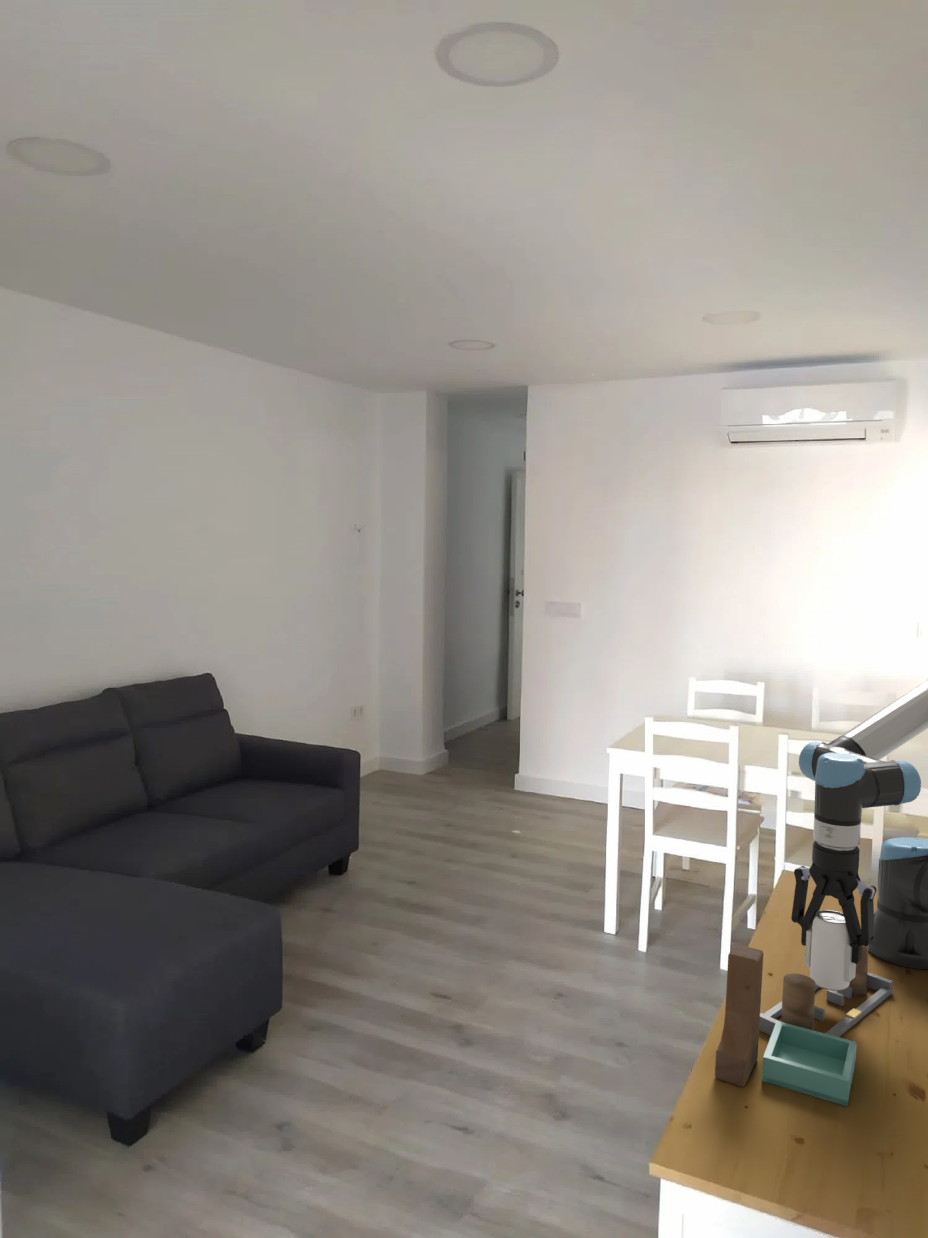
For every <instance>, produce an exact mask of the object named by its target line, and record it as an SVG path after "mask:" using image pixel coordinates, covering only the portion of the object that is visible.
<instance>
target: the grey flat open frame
mask: <svg viewBox="0 0 928 1238" xmlns="http://www.w3.org/2000/svg"><path fill="white" fill-rule="evenodd" d="M893 982H894V980H891V979H889V978H886V977H884V976H880V975H878V974H875V973H872V972H871V971H870V972H869V971H868V973H867V989H871V990H873V991H876V992H875V993H874V994H872V995H871V996H870V997H868V998H867V999H866V1000H865V1001H864V1002H862V1003H861V1004H860V1005H858V1006H857V1007H855V1008H854V1007H853V1008H852V1009H850V1010H849V1011H848V1012H847V1013H846V1014H845V1017H843V1018H842V1019H841V1020H840V1021H839V1022H837V1023H836V1024H834V1025H833V1026H832V1027H831V1028H830V1029H829V1030H827V1031H826V1032H824V1033H825V1034H829V1035H832V1036H836V1037H840V1038H841V1036H842V1035H844V1034H845V1033H846V1032H847V1031H848V1030H850V1029H851V1028H852V1027H853V1026H855V1025H856V1024H857V1023H858V1022H859V1021H860V1020H862V1019H863V1018H864V1017H865V1016H866V1015H868V1014H869V1013H870V1012H872V1011H873V1010H874V1009H875V1008H876V1007H878V1005H879V1006H880V1004H881V1003H882V1002H883V1001H885V1000H886V999H888V998H889V997H890V996H891V995H892V994H893V986H894V983H893ZM820 988H821V987H819V986H817V985H815V992H816V991H817V990H818V989H820ZM852 997H853V996H852V987H849V986H848V987H847V988H846V989H844V990H840V991H833V990H827V989H826V997H825V998H826V1001H827V1002H831V1003H832V1004H835V1005H837V1006H840V1007H843V1006H844V1005H845V998H847V999H849V1000H850V999H852ZM825 1012H826V1009H823V1008H822V1007H820V1006H816V1005H814V1017H813V1023H814V1020H818V1021H820V1022H824V1021H825V1017H826V1013H825ZM781 1013H782V1000H781V1001H780V1002H778V1003H776V1004H775V1005H774V1006H773V1007H771V1008H769V1009H768V1010H766V1012H764V1013H763V1012H760V1023H759V1032H763V1033H764V1034H767V1035H769V1036H771V1035H772V1032H773V1030H774V1027H775V1024H776V1021H780V1022H781V1020H778V1018H779V1017H781Z"/></svg>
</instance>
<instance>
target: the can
mask: <svg viewBox="0 0 928 1238" xmlns="http://www.w3.org/2000/svg"><path fill="white" fill-rule="evenodd" d="M850 942H851V941H850V937H849V934H848V930H847V926H846V922H845V919H844V915H843V912H841V911H837V910H833V909H832V910H831V909H821V910H819V911H817V912H816V917H815V918H814V920H813V925H812V942H811V961H810V967H809V977H810V978H811V979H813V980H814V981H815V983H816V985H817V986H819V987H820V988H821V989H823V990H826V991H827V990H833V991H835V992H837V991H840V990H844V989H846V988H847V987H848V986H849V984H850V982H846V981H844V976H845V956H846V944H847V943H850Z"/></svg>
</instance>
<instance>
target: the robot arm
mask: <svg viewBox="0 0 928 1238" xmlns="http://www.w3.org/2000/svg"><path fill="white" fill-rule="evenodd" d="M926 730H928V679H927V680H925V681H924V682H922V683H920V684H919V685H918V686H916V687H915V688H913V689H911V690H910V691H908V692H907V693H905V694H904V695H902V696H900V697H899V698H897V699H896V700H895V701H893V702H891V703H890V704H888V705H887V706H884V707H883V708H882V709H880V710H878V711H877V712H876V713H874V714H872V715H871V716H869V717H867V718H866V719H865V720H863V721H862V722H860V723H858V724H857V725H855V726H853V727H852V728H851V729H849V730H847V731H846V732H844V733H843V734H841V735H840V736H838V737H837V738H835V739H833V740H831V741H830V742H829V743H826V742H824V741H812V742H809V743H808V744H806V745H805V746H804V747H803V748H802V750H801V751H800V754H799V755H798V765H799V766H798V767H799V770H800V771H801V773H802V774H803V776H805V778H808V779H809V780H812V781H814V810H813V811H814V812H813V813H814V817H813V830H812V831H813V835H812V838H813V840H814V841H813V842H812V851H811V853H812V854H811V862H812V863H811V866H810V867H806V866H805V865H801V866H799V867H797V868H795V869H794V871H793V875H794V878H795V886H794V887H795V889H794V894H793V895H794V896H793V903H792V908H791V909H792V910H791V917H790V919H791V921H792V923H797V924H798V925H799V926H800V927H801V934H800V935H801V939H800V943H801V946H803V947H805V953H804V967H806V968H808V969H810V961H811V942H812V925H813V920H814V918H815V917H816V912H817V911H820V909H821V908H822V905H823V903H824V900H825V898H826V896H827V897H832V898H834V899H835V900H837V901H838V905H839V906H840V907H841V911H842V913H843V915H844V919H845V922H846V926H847V930H848V934H849V937H850V941H851V942H850V943H847V944H846V956H845V976H844V981H846V982H850V981H851V980H852V979H853V978H855V973H856V964H858V963H859V962H860V961H861V959H862V945H864V946H868V945H869V950H868V952H870V954H872V955H874V956H875V957H877V958H878V959H881V960H882V961H885V962H889V963H891V964H893V965H897V966H901V967H906V968H910V969H920V970H928V838H922V837H893V838H892V837H891V838H889V839H886V840H885V841H884V842H883V843H882V844H881V847H880V854H879V857H878V872H877V873H878V876H877V886H875V885H867V884H866V883H864V882H862V881H861V878H860V876H859V867H860V848H859V847H858V846H860V845H861V829H862V828H861V827H862V826H861V823H862V817H863V816H862V815H863V809H870V808H876V807H887V806H900V805H902V804H907V803H911V802H913V801H915V800H916V799H917V798H918V797H919V796H920V793H921V790H922V789H921V788H922V779H921V776H920V774H919V772H918V770H917V768H916V767H915V766H914V765H913V764H911V763H910V762H908V761H905V760H895V759H891V760H888V761H885V760H882V759H883V758H885V757H886V756H888V755H889V754H891V753H892V752H894V751H895V750H897V749H898V748H901V746H903V745H905V744H906V743H908V742H909V741H910V740H912V739H914V738H915V737H917V736H919V735H920V734H921V733H923V732H924V731H926ZM811 878H812V880H813V882H814V883H815V888H814V890H813V892H812V897H811V900H810V902H809V904H808V906H807V909H806V905H807V895H808V888H809V881H810V879H811ZM856 889H857V890H858V895H859V897H860V920H859V916H858V911H857V908H856V905H855V896H854V892H855V890H856ZM876 893H877V896H876ZM875 896H876V897H877V898H876V909H875V910H874V899H875Z"/></svg>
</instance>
